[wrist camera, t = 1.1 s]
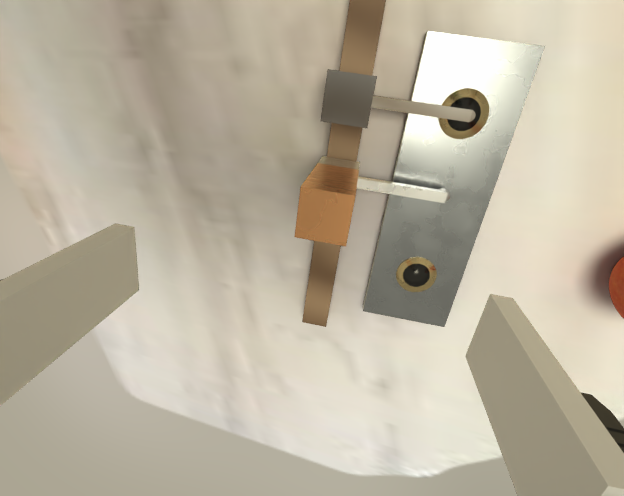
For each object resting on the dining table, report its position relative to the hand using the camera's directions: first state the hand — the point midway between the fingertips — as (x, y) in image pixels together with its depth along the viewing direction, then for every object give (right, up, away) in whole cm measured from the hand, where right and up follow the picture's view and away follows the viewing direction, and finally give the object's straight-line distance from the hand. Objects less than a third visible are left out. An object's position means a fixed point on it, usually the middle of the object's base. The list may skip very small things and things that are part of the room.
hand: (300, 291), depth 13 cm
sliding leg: (+6, +7, +16) cm, 19 cm away
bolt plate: (+11, +6, +17) cm, 21 cm away
